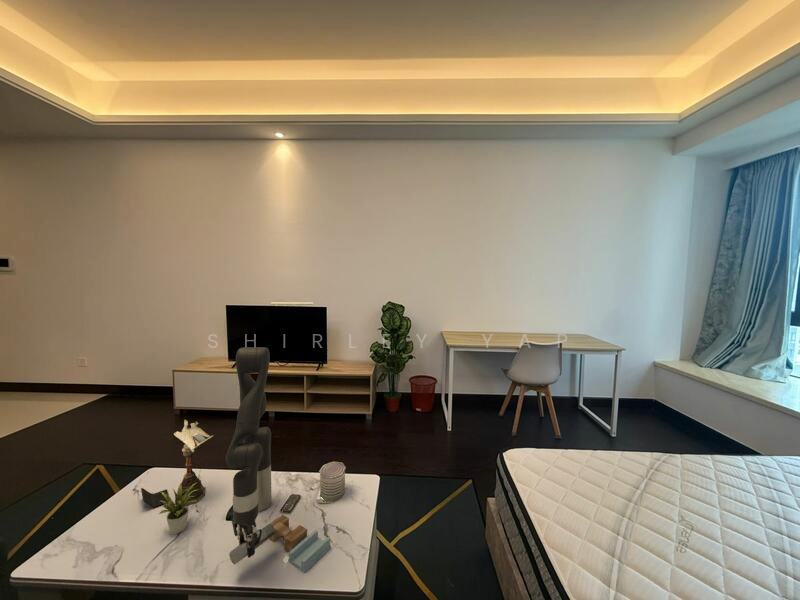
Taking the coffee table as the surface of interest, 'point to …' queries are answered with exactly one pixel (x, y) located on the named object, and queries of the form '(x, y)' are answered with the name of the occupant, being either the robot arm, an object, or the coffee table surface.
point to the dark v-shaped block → (154, 498)
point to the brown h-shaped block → (288, 533)
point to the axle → (241, 550)
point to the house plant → (177, 510)
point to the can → (332, 481)
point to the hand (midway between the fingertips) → (246, 552)
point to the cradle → (309, 551)
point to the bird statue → (189, 449)
